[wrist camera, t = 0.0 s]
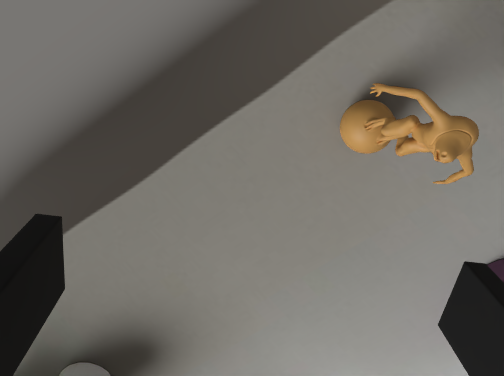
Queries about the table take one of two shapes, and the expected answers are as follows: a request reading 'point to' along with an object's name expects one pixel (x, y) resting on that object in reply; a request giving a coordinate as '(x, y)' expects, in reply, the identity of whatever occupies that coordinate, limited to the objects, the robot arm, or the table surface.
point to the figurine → (410, 130)
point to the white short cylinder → (84, 370)
